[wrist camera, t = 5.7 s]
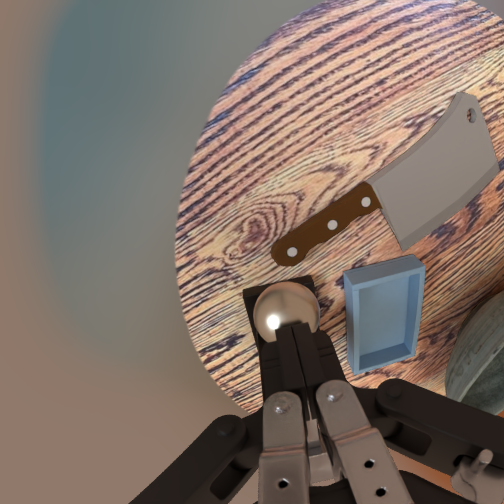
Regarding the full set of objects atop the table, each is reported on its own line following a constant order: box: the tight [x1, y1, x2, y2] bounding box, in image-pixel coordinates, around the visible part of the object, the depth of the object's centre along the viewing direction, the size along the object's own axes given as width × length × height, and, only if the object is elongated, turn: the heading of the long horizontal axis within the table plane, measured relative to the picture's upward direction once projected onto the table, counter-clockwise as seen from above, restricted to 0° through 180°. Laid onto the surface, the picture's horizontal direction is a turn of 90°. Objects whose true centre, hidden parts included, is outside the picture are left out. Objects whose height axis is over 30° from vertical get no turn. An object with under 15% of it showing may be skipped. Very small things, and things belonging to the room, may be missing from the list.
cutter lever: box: [253, 281, 334, 483], centre depth 15 cm, size 13×3×3 cm, turn 12°
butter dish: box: [343, 254, 426, 375], centre depth 27 cm, size 11×7×2 cm, turn 12°
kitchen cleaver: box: [271, 92, 500, 266], centre depth 23 cm, size 24×1×10 cm
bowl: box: [445, 290, 504, 415], centre depth 26 cm, size 21×21×10 cm
